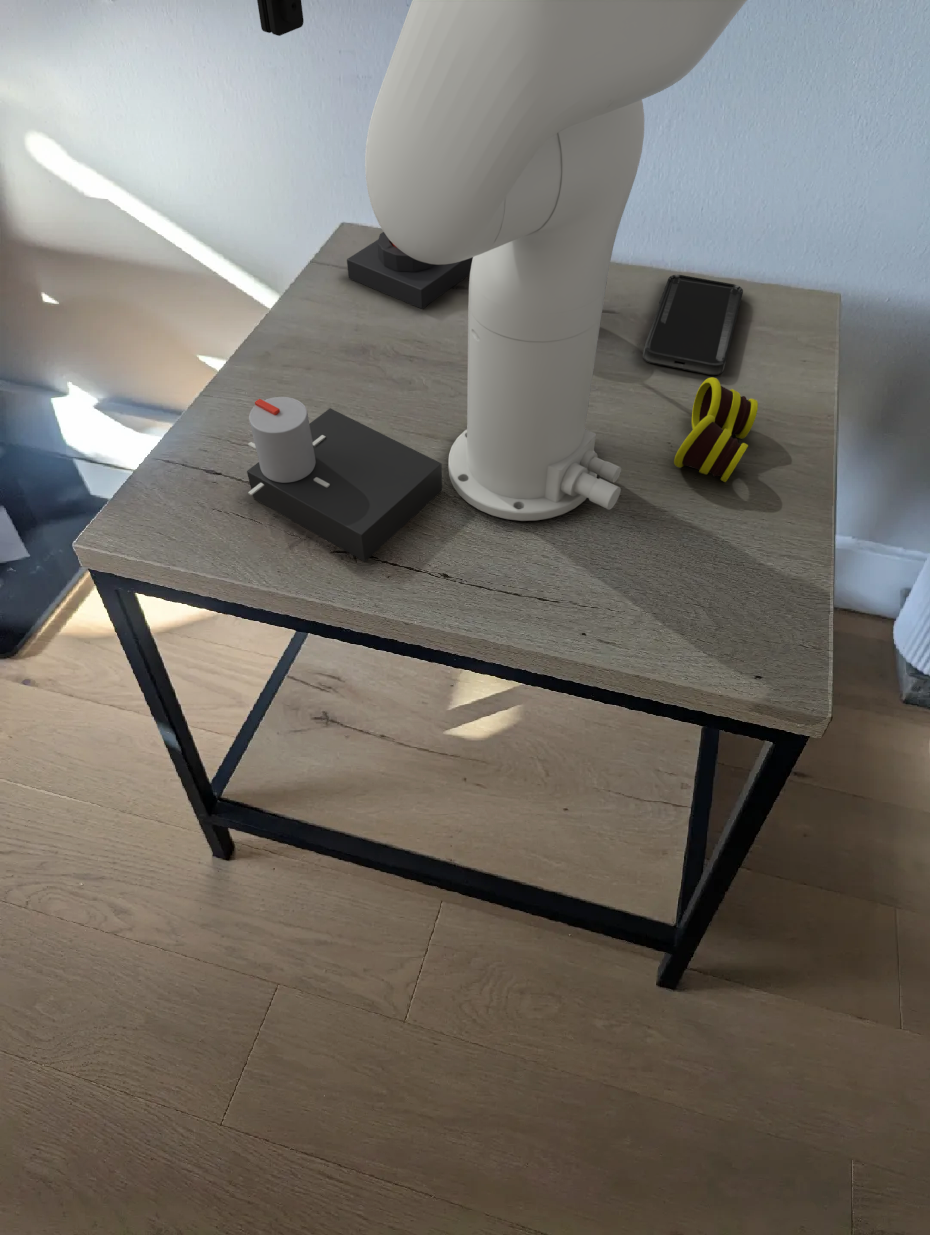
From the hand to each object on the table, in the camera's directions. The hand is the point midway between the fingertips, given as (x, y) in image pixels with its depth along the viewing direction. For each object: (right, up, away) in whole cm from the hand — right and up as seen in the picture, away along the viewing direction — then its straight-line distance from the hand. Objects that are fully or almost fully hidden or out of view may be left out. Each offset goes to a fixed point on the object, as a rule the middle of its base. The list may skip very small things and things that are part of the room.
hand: (283, 28), depth 69 cm
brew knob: (0, -35, 0) cm, 35 cm away
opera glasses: (+36, -33, +7) cm, 49 cm away
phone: (+38, -18, +18) cm, 45 cm away
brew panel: (+3, -37, +2) cm, 37 cm away
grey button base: (+9, -10, +24) cm, 28 cm away
